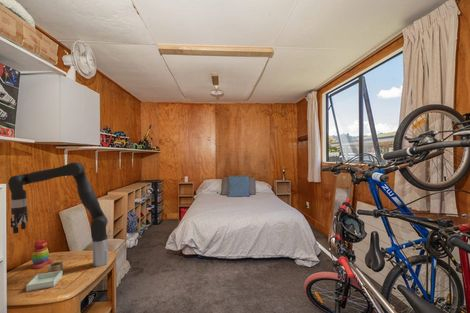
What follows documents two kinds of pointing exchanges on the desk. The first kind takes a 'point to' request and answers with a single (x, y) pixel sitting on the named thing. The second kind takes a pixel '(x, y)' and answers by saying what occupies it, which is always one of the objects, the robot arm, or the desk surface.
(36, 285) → the green crate
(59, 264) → the oak crate
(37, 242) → the stacking bear
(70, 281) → the desk surface
